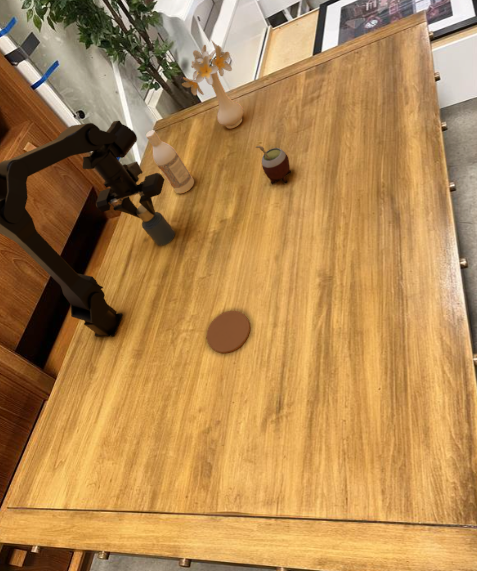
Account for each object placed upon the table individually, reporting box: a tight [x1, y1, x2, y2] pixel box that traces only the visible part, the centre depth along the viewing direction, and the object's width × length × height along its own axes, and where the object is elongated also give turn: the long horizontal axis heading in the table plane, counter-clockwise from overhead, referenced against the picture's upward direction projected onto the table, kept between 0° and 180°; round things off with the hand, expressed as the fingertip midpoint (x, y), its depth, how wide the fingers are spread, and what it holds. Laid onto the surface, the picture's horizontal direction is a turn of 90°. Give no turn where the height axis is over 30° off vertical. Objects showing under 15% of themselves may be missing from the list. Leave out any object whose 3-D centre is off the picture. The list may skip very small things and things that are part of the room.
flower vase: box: [181, 39, 244, 130], centre depth 124 cm, size 13×18×25 cm
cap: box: [136, 204, 154, 222], centre depth 105 cm, size 4×4×3 cm
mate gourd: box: [255, 145, 292, 185], centre depth 101 cm, size 8×8×15 cm
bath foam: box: [145, 129, 195, 194], centre depth 116 cm, size 7×7×20 cm
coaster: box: [206, 310, 251, 354], centre depth 84 cm, size 10×10×1 cm
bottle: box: [141, 211, 176, 247], centre depth 108 cm, size 6×6×11 cm
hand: (147, 215), depth 106 cm, fingers closed on cap, 4 cm apart
